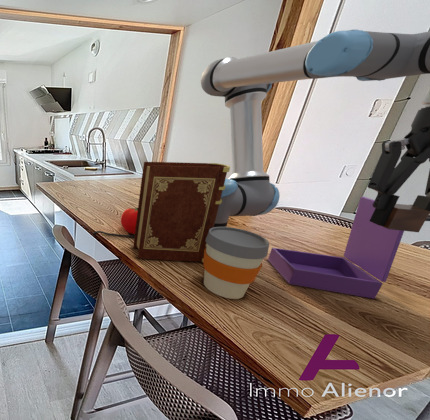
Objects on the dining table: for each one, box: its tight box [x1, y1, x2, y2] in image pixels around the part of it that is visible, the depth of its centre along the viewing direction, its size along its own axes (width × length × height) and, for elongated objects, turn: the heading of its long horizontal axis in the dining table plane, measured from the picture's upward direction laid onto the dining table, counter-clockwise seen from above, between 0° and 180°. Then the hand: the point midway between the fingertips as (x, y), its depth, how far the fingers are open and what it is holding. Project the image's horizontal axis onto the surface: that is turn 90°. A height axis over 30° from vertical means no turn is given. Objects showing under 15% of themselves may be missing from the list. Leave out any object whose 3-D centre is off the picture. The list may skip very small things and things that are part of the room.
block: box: [382, 203, 430, 233], centre depth 51 cm, size 4×4×4 cm
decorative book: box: [132, 161, 231, 263], centre depth 76 cm, size 22×8×30 cm, turn 84°
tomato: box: [120, 207, 138, 235], centre depth 96 cm, size 12×12×10 cm
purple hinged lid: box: [343, 196, 430, 283], centre depth 61 cm, size 18×13×9 cm
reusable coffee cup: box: [202, 226, 270, 300], centre depth 62 cm, size 13×12×15 cm
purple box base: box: [267, 247, 384, 300], centre depth 68 cm, size 17×13×5 cm
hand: (393, 225), depth 51 cm, fingers closed on block, 4 cm apart
